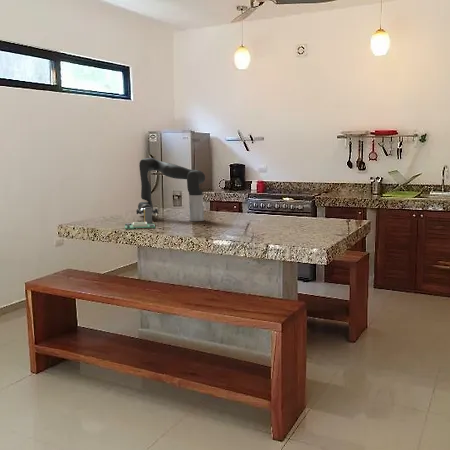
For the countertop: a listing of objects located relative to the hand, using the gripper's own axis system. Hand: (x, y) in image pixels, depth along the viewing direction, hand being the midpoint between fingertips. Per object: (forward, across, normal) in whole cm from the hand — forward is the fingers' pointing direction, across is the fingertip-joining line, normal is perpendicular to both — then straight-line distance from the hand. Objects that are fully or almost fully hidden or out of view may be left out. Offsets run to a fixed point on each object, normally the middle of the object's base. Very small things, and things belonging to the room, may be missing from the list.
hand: (147, 212), depth 337 cm
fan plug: (+11, 0, +6) cm, 13 cm away
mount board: (+23, -6, +6) cm, 25 cm away
